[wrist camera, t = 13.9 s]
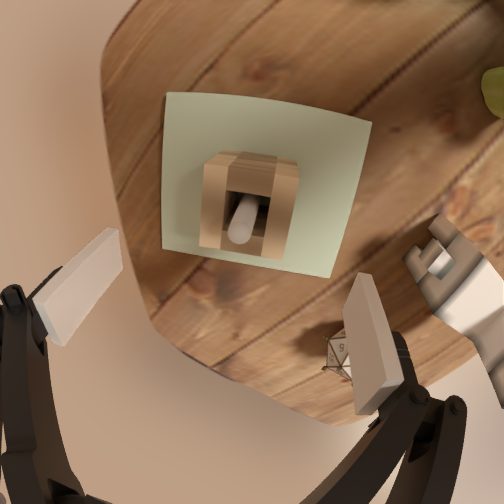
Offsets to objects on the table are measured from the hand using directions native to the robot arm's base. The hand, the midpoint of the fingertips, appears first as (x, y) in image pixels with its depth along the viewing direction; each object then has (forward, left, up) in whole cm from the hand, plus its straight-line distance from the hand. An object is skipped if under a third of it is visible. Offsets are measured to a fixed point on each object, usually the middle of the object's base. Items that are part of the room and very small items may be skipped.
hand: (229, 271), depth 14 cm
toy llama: (+4, +26, -16) cm, 31 cm away
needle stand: (0, 0, -16) cm, 16 cm away
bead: (0, 0, -15) cm, 15 cm away
